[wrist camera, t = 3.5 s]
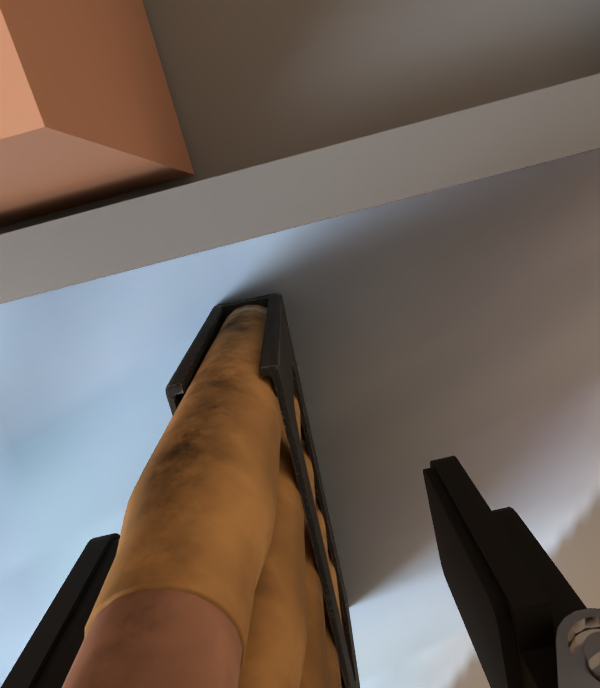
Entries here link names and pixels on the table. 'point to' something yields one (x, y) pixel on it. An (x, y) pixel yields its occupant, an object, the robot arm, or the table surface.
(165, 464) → the ammunition clip
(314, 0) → the grey shallow rimmed piece
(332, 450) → the table surface
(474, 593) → the robot arm
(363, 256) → the table surface
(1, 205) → the slider
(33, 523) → the table surface
